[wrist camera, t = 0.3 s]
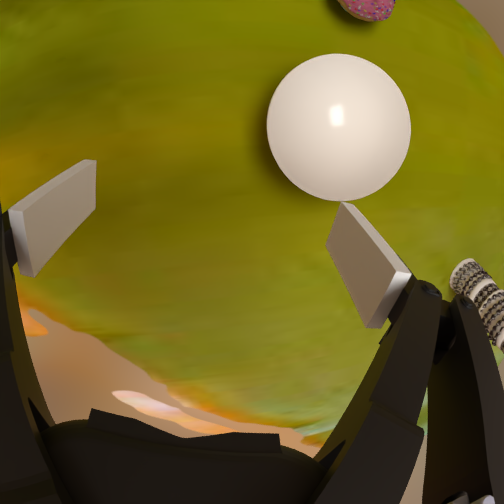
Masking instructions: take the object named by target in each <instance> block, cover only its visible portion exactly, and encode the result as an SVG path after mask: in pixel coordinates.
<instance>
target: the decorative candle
mask: <svg viewBox="0 0 504 504" xmlns="http://www.w3.org/2000/svg"><path fill="white" fill-rule="evenodd" d="M449 283H450V287H451V288H452V289H453V290H455V291H454V292H455V293H456V292H457V293H456V294H461V295H464V296H466V297H469V298H470V299H471V300H472V301H473V303H474V304H475V305H476V307H477V308H478V311H479V313H480V316H481V319H482V321H483V324H484V327H485V329H486V332H487V333H489V336H488V338H489V340H493V341H492V345H494V346H496V345H497V346H498V348H499V349H500V350H502V352H503V353H504V290H500V289H499V288H498V287H497V286H496V284H495V283H494V282H493V280H492V277H491V276H489V275H488V273H487V272H485V271H484V269H483V268H482V267H481V266H480V265H479V264H478V263H476V262H475V261H474V260H473V259H471V258H468V259H465V260H463V261H462V262H460V263H459V264H458V265H457V266H456V267H455V269H454V270H453V272H452V274H451V276H450V281H449ZM487 329H488V330H487Z"/></svg>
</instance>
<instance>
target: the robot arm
mask: <svg viewBox="0 0 504 504" xmlns="http://www.w3.org/2000/svg"><path fill="white" fill-rule="evenodd" d="M95 209H96V160H85V159H84V160H82V161H81V162H79V163H77V164H76V165H74V166H72V167H70V168H69V169H67V170H66V171H64V172H62V173H61V174H59V175H57V176H56V177H54V178H53V179H51V180H50V181H48V182H47V183H45V184H43V185H42V186H40V187H39V188H38V189H36V190H35V191H33V192H32V193H30V194H29V195H27V196H26V197H25V198H23V199H22V200H20V201H19V202H18V203H16V204H15V205H14V206H12V207H11V208H10V209H8V210H7V211H6V212H4V213H3V214H2V211H1V203H0V504H399V503H400V501H401V499H402V496H403V494H404V491H405V489H406V487H407V484H408V482H409V479H410V477H411V474H412V471H413V469H414V466H415V463H416V460H417V457H418V454H419V451H420V448H421V445H422V442H423V438H424V430H423V428H421V427H419V426H417V425H416V424H417V420H418V417H419V414H420V410H421V407H422V403H423V400H424V396H425V392H426V388H428V433H427V453H426V466H425V476H424V485H423V496H422V504H504V390H503V386H502V382H501V378H500V374H499V371H498V367H497V363H496V360H495V357H494V353H493V350H492V347H491V344H490V341H489V338H488V335H487V332H486V329H485V327H484V324H483V321H482V319H481V316H480V313H479V311H478V308H477V307H476V305H475V304H474V303H473V301H472V300H471V299H470V298H469V297H466V296H464V295H461V294H456V295H455V297H454V298H453V300H452V302H451V303H450V302H447V301H445V300H442V294H441V293H440V291H439V290H438V289H437V288H436V287H435V286H434V285H433V284H431V283H429V282H426V281H423V280H417V279H416V277H415V276H414V275H413V273H412V272H411V271H410V270H409V268H407V266H406V265H405V263H403V261H402V260H401V258H400V257H399V256H398V255H397V254H396V253H395V252H394V251H393V250H392V248H391V247H390V246H389V245H388V244H387V242H386V241H385V240H384V239H383V238H382V236H381V235H380V234H379V233H378V232H377V231H376V229H375V228H374V227H373V226H372V225H371V224H370V223H369V221H368V220H367V219H366V218H365V217H364V216H363V215H362V214H361V212H360V211H359V210H358V209H357V208H356V207H355V206H354V205H353V204H349V203H345V202H341V203H340V206H339V209H338V212H337V215H336V217H335V220H334V223H333V226H332V229H331V232H330V234H329V237H328V240H327V243H326V245H325V246H326V248H327V249H328V251H329V253H330V255H331V257H332V259H333V261H334V263H335V265H336V267H337V269H338V271H339V273H340V275H341V277H342V279H343V281H344V283H345V285H346V287H347V289H348V291H349V293H350V295H351V297H352V300H353V302H354V304H355V306H356V308H357V310H358V312H359V314H360V316H361V319H362V321H363V323H364V325H365V327H366V328H381V327H382V326H383V324H384V322H385V321H386V319H387V317H388V318H389V320H390V322H391V325H390V327H389V328H388V330H387V331H386V333H385V334H384V336H383V338H382V339H381V341H380V342H379V344H380V347H379V349H378V351H377V353H376V355H375V357H374V359H373V361H372V363H371V365H370V367H369V369H368V371H367V373H366V375H365V377H364V378H363V380H362V382H361V384H360V386H359V388H358V389H357V391H356V393H355V395H354V397H353V398H352V400H351V402H350V404H349V405H348V407H347V409H346V410H345V412H344V414H343V415H342V417H341V419H340V420H339V422H338V424H337V425H336V427H335V428H334V430H333V432H332V433H331V435H330V436H329V438H328V439H327V441H326V442H325V444H324V445H323V447H322V448H321V449H320V451H319V452H318V453H317V454H316V456H315V457H314V458H311V457H309V456H307V455H306V454H304V453H302V452H299V451H297V450H295V449H292V448H289V447H286V446H282V445H280V438H279V434H270V433H266V434H265V433H240V432H231V433H225V434H218V435H210V436H202V437H194V438H181V437H178V436H175V435H172V434H170V433H167V432H165V431H162V430H160V429H157V428H155V427H153V426H150V425H148V424H146V423H143V422H141V421H139V420H137V419H133V418H129V417H124V416H120V415H116V414H112V413H108V412H104V411H100V410H96V409H93V408H92V409H91V412H90V416H89V419H88V420H84V419H83V420H72V421H67V422H62V423H59V424H55V422H54V420H53V418H52V416H51V414H50V412H49V410H48V407H47V404H46V402H45V399H44V396H43V393H42V391H41V388H40V385H39V382H38V379H37V376H36V373H35V369H34V366H33V363H32V359H31V356H30V352H29V348H28V344H27V341H26V336H25V332H24V328H23V323H22V318H21V313H20V308H19V302H18V297H17V290H16V284H15V276H14V272H13V268H12V267H13V265H14V264H15V263H16V262H18V266H19V270H20V274H22V275H26V276H30V277H34V278H35V276H36V275H37V274H38V273H39V271H40V270H41V269H42V268H43V266H44V265H45V264H46V263H47V261H48V260H49V259H50V258H51V257H52V256H53V254H54V253H55V252H56V251H57V250H58V249H59V247H60V246H61V245H62V244H63V243H64V242H65V241H66V239H67V238H68V237H69V236H70V235H71V234H72V233H73V232H74V231H75V230H76V228H77V227H78V226H79V225H80V224H81V223H82V222H83V221H84V220H85V219H86V218H87V217H88V216H89V215H90V214H91V213H92V212H93V211H94V210H95Z"/></svg>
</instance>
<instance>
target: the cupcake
mask: <svg viewBox="0 0 504 504" xmlns="http://www.w3.org/2000/svg"><path fill="white" fill-rule="evenodd" d="M337 1H338V2H339V3H340V5H341V6H342V8H343V9H344V10H345V11H347V12H348V13H350V14H351V15H352V16H354V17H355V18H358V19H361V20H364V21H368V22H371V21H378V20H381V21H382V20H386V19H387V18H388V17H389V16H390V15H391V13H392V10H393V8H394V4H395V0H337Z"/></svg>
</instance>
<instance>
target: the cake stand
mask: <svg viewBox="0 0 504 504" xmlns="http://www.w3.org/2000/svg"><path fill="white" fill-rule="evenodd" d="M266 129H267V137H268V142H269V146H270V149H271V152H272V154H273V157H274V158H275V160H276V162H277V164H278V166H279V167H280V169H281V170H282V171H283V173H284V174H285V175H286V176H287V177H288V179H289V180H290V181H291V182H292V183H294V184H295V185H296V186H297V187H299V188H300V189H302V190H303V191H305V192H307V193H308V194H311V195H313V196H315V197H318V198H322V199H325V200H332V201H348V200H355V199H359V198H362V197H365V196H367V195H370V194H372V193H373V192H375V191H377V190H378V189H380V188H381V187H383V186H384V185H385V184H386V183H387V182H389V181H390V180H391V178H392V177H393V176H394V175H395V174H396V172H397V171H398V169H399V168H400V166H401V165H402V163H403V161H404V159H405V156H406V153H407V151H408V146H409V142H410V134H411V124H410V116H409V111H408V107H407V104H406V102H405V99H404V97H403V95H402V93H401V91H400V89H399V88H398V87H397V85H396V84H395V82H394V81H393V80H392V79H391V78H390V77H389V76H388V74H386V73H385V72H384V71H383V70H382V69H380V68H379V67H377V66H376V65H374V64H373V63H371V62H369V61H367V60H365V59H362V58H359V57H356V56H352V55H346V54H329V55H323V56H319V57H315V58H312V59H310V60H308V61H305V62H303V63H302V64H300V65H298V66H297V67H295V68H294V69H293V70H291V71H290V72H289V73H288V74H287V75H286V76H285V77H284V78H283V79H282V81H281V82H280V83H279V85H278V86H277V88H276V89H275V92H274V94H273V96H272V98H271V101H270V104H269V107H268V113H267V125H266Z"/></svg>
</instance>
